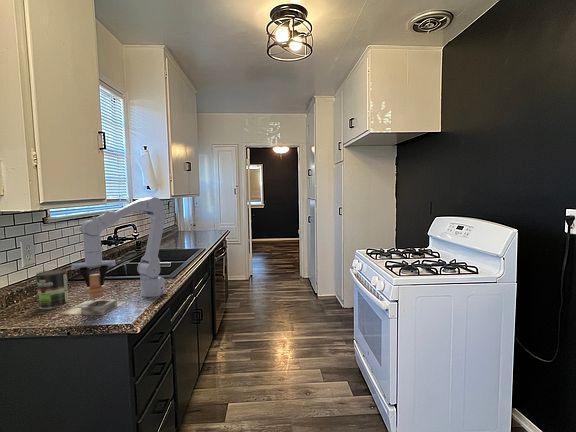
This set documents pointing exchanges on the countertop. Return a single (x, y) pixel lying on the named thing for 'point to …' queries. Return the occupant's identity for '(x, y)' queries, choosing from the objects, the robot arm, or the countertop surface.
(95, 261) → the robot arm
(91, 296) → the end cover
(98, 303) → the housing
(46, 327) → the countertop surface
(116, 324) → the countertop surface
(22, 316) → the countertop surface
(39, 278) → the coffee can
